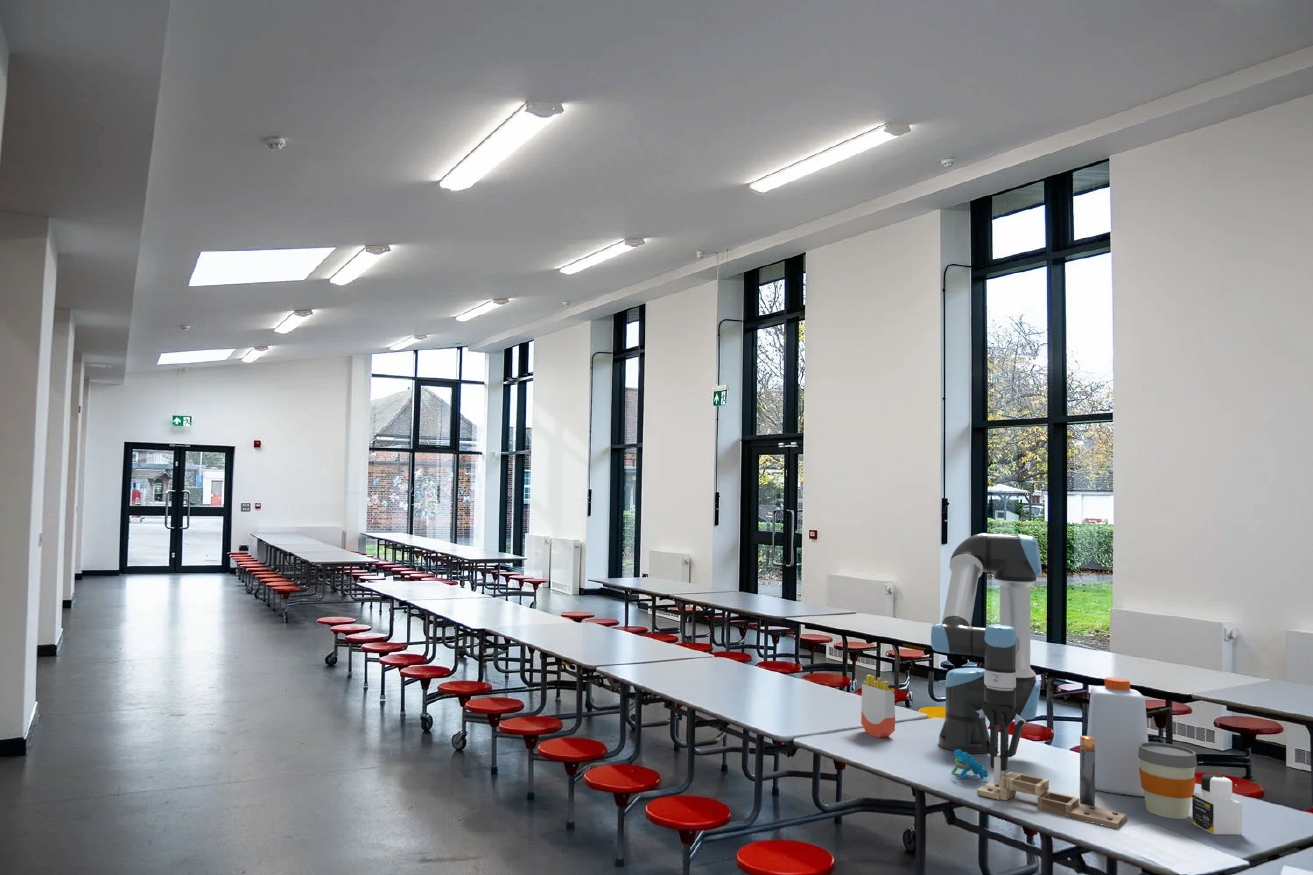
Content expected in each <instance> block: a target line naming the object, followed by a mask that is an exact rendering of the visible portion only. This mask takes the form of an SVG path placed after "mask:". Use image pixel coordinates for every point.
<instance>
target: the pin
mask: <svg viewBox="0 0 1313 875" xmlns="http://www.w3.org/2000/svg"><path fill="white" fill-rule="evenodd" d="M1079 804H1084V805H1089V806H1093V807H1095V806H1094V805H1096V790H1095V738H1094V737H1090V736H1087V735H1080V737H1079Z"/></svg>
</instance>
